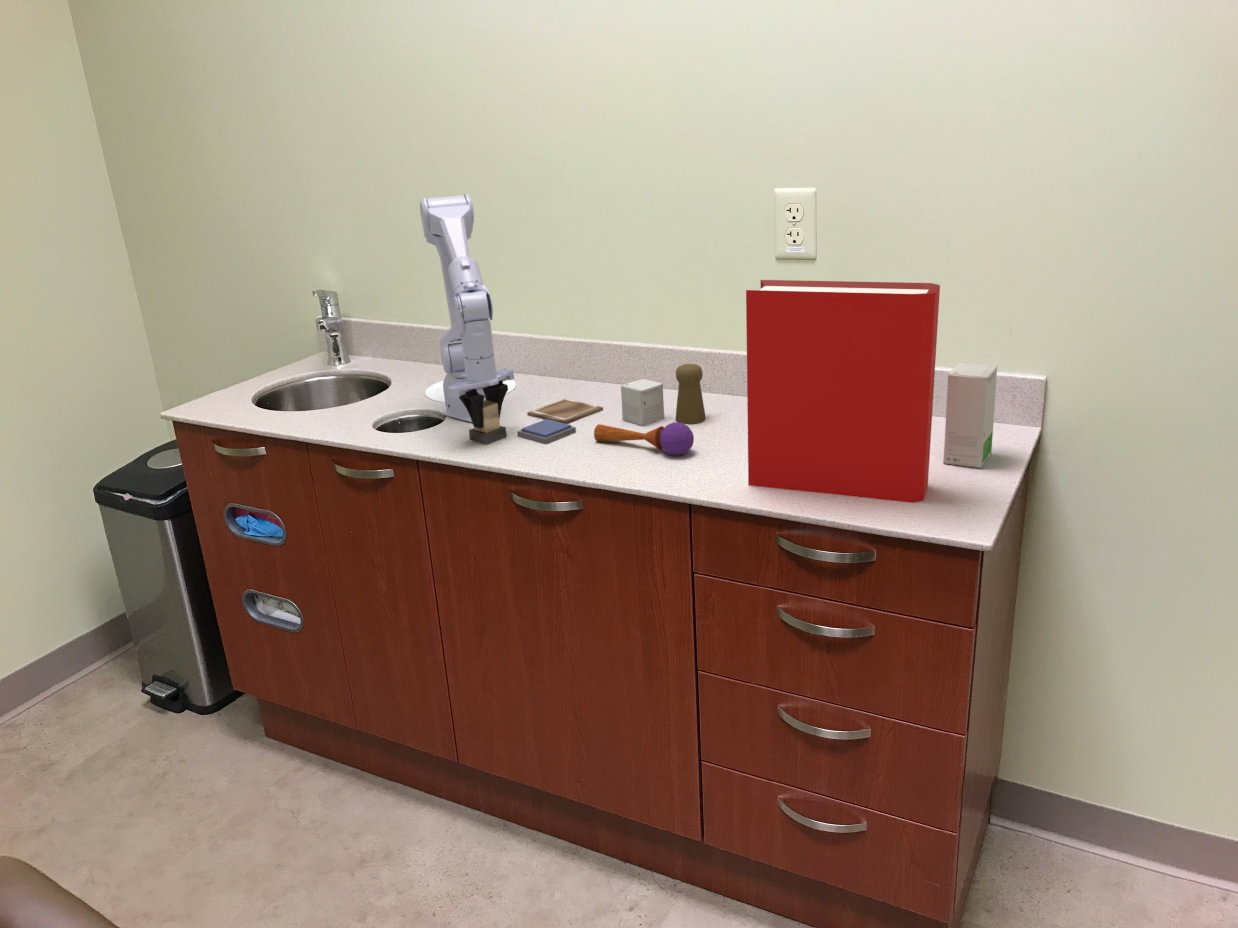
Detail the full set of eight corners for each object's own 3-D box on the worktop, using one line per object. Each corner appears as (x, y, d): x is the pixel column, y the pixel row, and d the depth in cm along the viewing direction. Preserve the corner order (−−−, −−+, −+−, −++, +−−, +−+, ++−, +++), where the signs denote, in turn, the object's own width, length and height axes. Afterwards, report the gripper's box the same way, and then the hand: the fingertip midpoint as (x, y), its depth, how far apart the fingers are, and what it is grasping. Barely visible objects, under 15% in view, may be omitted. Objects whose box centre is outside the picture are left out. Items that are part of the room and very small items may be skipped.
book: (748, 485, 157) (746, 290, 146) (761, 467, 164) (760, 279, 152) (922, 503, 146) (934, 294, 135) (928, 484, 153) (941, 283, 142)
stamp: (470, 439, 186) (465, 405, 184) (489, 432, 190) (485, 398, 187) (486, 444, 183) (482, 409, 180) (506, 437, 186) (502, 402, 184)
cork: (704, 424, 186) (702, 369, 182) (673, 424, 188) (670, 369, 184) (707, 414, 192) (706, 361, 188) (677, 414, 193) (675, 361, 189)
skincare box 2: (980, 469, 157) (988, 378, 152) (939, 463, 161) (945, 373, 155) (992, 452, 164) (1000, 364, 158) (952, 447, 167) (958, 360, 162)
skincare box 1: (642, 426, 188) (640, 390, 185) (621, 420, 192) (619, 385, 189) (665, 418, 191) (663, 383, 189) (644, 412, 196) (642, 377, 193)
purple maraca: (607, 415, 183) (699, 421, 172) (608, 446, 184) (699, 454, 173) (589, 419, 178) (682, 425, 167) (590, 450, 179) (682, 459, 168)
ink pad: (517, 436, 186) (516, 428, 186) (547, 424, 192) (546, 417, 191) (546, 444, 181) (545, 436, 181) (576, 432, 187) (575, 424, 186)
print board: (527, 415, 198) (527, 411, 198) (565, 401, 206) (565, 397, 205) (565, 424, 191) (564, 420, 191) (603, 409, 199) (602, 406, 198)
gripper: (461, 367, 173) (470, 438, 178) (521, 349, 183) (528, 417, 187) (437, 362, 177) (446, 431, 182) (497, 344, 187) (504, 411, 192)
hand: (486, 424), depth 185 cm, fingers closed on stamp, 3 cm apart
